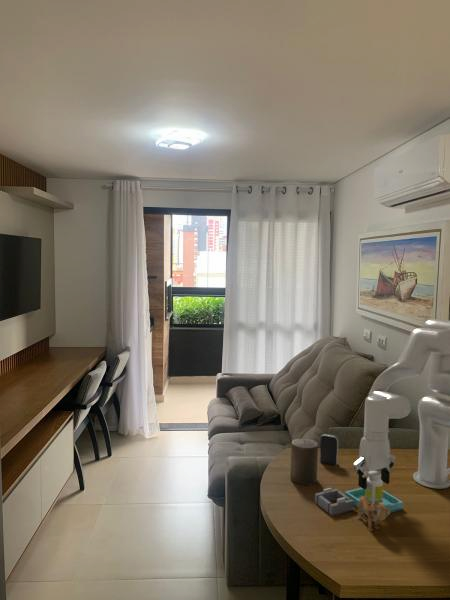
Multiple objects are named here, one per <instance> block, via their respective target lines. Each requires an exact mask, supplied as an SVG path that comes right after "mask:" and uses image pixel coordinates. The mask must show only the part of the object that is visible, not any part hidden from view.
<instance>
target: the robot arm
mask: <svg viewBox="0 0 450 600" xmlns="http://www.w3.org/2000/svg"><path fill="white" fill-rule="evenodd" d="M430 356H431V360H430V361H431V362H430V365H429V366H430V367H429V372H428V376H427V387H428V389H429V390H430V391H432V392H434V393H436V394H440V395H443V396H447V397H450V320H449V319H439V318H433V319H432V318H431V319H427V320H426V321H425V322H424V323H423V327H417V328H415V329H413V330H412V331H411V332H410V334H409V337H408V338H407V340H406V343H405V345H404V347H403V349H402V351H401V353H400V355H399V357H398V360H397V361H396V362H395V363H394V364H392V365H391V366H389V367H388V368H387V369H385V370H384V371H383V372H381V373H380V374H379V375H378V376H377V377H376V379H375V380H374V382H373V384H372V385H371V387H370V390H369V392H368V396H367V397H365V401H364V421H363V422H364V423H363V424H364V425H363V437H361V439H360V444H359V448H358V449H359V450H358V458H357V460H356V461H354V462H353V464H352V466H353V469H354V472H355V473H356V474H357V475H358V484H357V485H358V487H359V488H363V489H367V478H368V476H367V475H368V472H369V471H377V470H380V469H381V470H380V473H381V480H382V481H383V483H385V484H386V485H388V484H390V473H391V472H392V468H393V466H394V464H395V463H394V462H395V461H396V459H397V458H396V456H395V455H393V454H391V448H390V447H391V444H390V439H389V433H390V430H389V421H390V419H398V420H399V419H404V418H406V417H407V416H408V415H409V414H410V413H411V410H412V404H411V401H410V400H409V399H408V398H407V397H405V396H403V395H399V394H397V393H393V392H390V391H388V390H389V389H390V387H391V386H392V385H393V384H395V383H397V382H399V381H402V380H405V379H410V378H414V377H418V376H420V375H421V374H422V373H423V371H424V369H425V366H426V365H427V362H428V360H429V357H430ZM417 413H418V414H417V415H418V419H419V420H418V421H419V438H418V439H419V442H418V444H419V445H418V459H417V460H418V461H417V462H418V465H417V466H418V467H417V471H415V472H413V474H412V478H413V481H415V482H416V483H417V484H419V485H421V486H424V487H427V488H431V489H436V490H437V489H439V490H442V489H447V488H449V487H450V478H449V477H448V476H450V467H449V468H447V466H448V450H449V449H448V446H449V434H448V432H447V431H448V430H447V429H446V428H448V429H450V400H449V399H446V398H443V397H439V396H434V395H425V396H422V397H421V398H420V399H419V401H418V404H417ZM366 476H367V477H366Z"/></svg>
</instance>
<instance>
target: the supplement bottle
mask: <svg viewBox="0 0 450 600" xmlns="http://www.w3.org/2000/svg"><path fill="white" fill-rule="evenodd" d="M367 475H368V476H367V489H366V497H367V498H368V499H369V502H370V503H378V502H380V503H382V501H383V490H384V482H383V481H382V480H381V471H377V470H373V471H369V472H368V473H367Z"/></svg>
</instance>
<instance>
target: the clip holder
mask: <svg viewBox="0 0 450 600" xmlns="http://www.w3.org/2000/svg"><path fill="white" fill-rule="evenodd" d="M335 500H336V502H335V503H332V502H331V501H335ZM314 503H315V504H316V505H318V506H319V507H320V508H322V510H324V511H325V512H327V514H329V515H330V516H332V517H333V516H335V515H339V514H343V513H346V512H350V511H353V510H354V511H355V509H354V508H355V506H354V501H353V500H352V499H350V498H349V497H348V496H346V495H345V493H343V492H342V491H340V490H339V489H338V488H333V489H332V487H329V488H324V489H323V491H320V492H316V493H314Z"/></svg>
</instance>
